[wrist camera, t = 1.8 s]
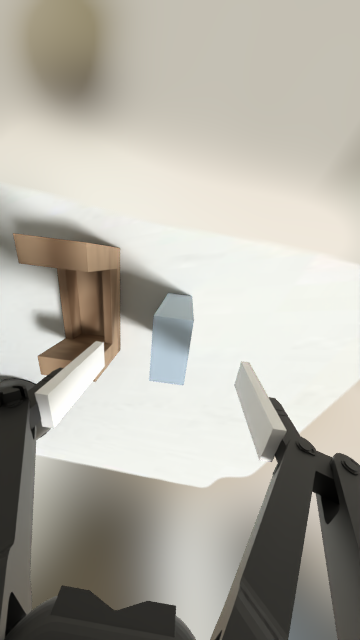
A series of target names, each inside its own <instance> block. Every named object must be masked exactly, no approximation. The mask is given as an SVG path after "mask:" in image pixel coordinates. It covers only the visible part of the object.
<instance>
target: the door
mask: <svg viewBox="0 0 360 640" xmlns="http://www.w3.org/2000/svg"><path fill="white" fill-rule="evenodd" d="M193 322H194V318H193V303H192V296H187V295H179V294H172V293H168V294H167V296H166V297H165V299H164V300H163V302H162V304H161V305H160V307H159V308H158V310H157V311H156V313H155V314H154V319H153V334H152V348H151V363H150V378H149V381H155V382H163V383H170V384H177V385H184V379H185V373H186V367H187V360H188V354H189V347H190V341H191V335H192V328H193Z"/></svg>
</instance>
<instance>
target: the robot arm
mask: <svg viewBox="0 0 360 640" xmlns="http://www.w3.org/2000/svg"><path fill="white" fill-rule="evenodd" d="M104 367H105V360H104V342H98V341H95V342H94V343H93V344H92V345H91V346H90V347H88V348H87V349H86V350H85V351H84V352H82V353H81V354H80V355H79V356H78V357H77V358H75V359H74V360H73V361H72V362H71V363H70V364H68V365H67V366H66V367H65V368H58V369H56V370H54V371H52V372H51V373H50V374H48V375H47V377H45V378H43V379H42V381H40V382H38V383H37V384H36V385H35V384H33V383H30V382H28V381H24V380H20V379H7V380H3V381H1V382H0V640H196V639H195V637H194V636H193V634H192V633H191V631H190V630H189V628H188V627H187V626H186V625H185V624H184V623H183V621H182V620H180V619H179V618H178V617H177V616H176V615H175V614H176V606H174V605H168V604H162V603H157V602H151V601H146V602H142V603H139V604H136V605H133V606H130V607H127V608H124V609H121V610H113V609H112V608H110V607H109V606H108V605H107V604H105V603H104V602H103V601H102V600H101V599H99V598H98V597H97V596H96V595H94V594H93V593H92V592H91V591H89V590H84V589H79V588H72V587H67V586H61V589H60V591H59V594H58V596H56V597H53V598H51V599H49V600H47V601H45V602H43V603H42V604H40V605H39V606H37V607H36V608H34V609H33V610H32V591H31V581H30V564H31V542H32V520H33V498H34V476H35V454H36V440H37V439H38V438H40V437H42V436H43V435H45V434H46V433H47V432H48V431H49V430H50V429H51V428H55V427H56V425H57V424H58V423H59V422H60V421H61V419H62V418H63V417H64V416H65V414H66V413H67V412H68V411H69V410H70V408H71V407H72V406H73V405H74V403H75V402H76V401H77V400H78V399H79V397H80V396H81V395H82V394H83V392H84V391H85V390H86V389H87V388H88V386H89V385H90V384H91V383H92V381H93V380H94V379H95V378H96V377H97V375H98V374H99V373H100V372H101V370H102V369H103V368H104ZM235 388H236V391H237V394H238V397H239V400H240V403H241V406H242V409H243V412H244V415H245V418H246V421H247V424H248V427H249V430H250V433H251V436H252V439H253V442H254V445H255V448H256V451H257V454H258V457H259V460H262V461H268V462H272V461H273V459H274V456H275V457H276V459H277V462H278V464H277V466H276V468H275V470H274V472H273V477H272V479H271V482H270V485H269V487H268V490H267V493H266V495H265V498H264V501H263V504H262V506H261V509H260V511H259V514H258V517H257V520H256V522H255V525H254V528H253V531H252V533H251V536H250V538H249V541H248V544H247V546H246V549H245V552H244V554H243V557H242V560H241V562H240V565H239V568H238V570H237V573H236V576H235V578H234V581H233V584H232V586H231V589H230V592H229V594H228V597H227V600H226V602H225V605H224V608H223V610H222V612H221V615H220V617H219V619H218V622H217V624H216V626H215V629H214V631H213V634H212V637H211V639H210V640H288V637H289V630H290V624H291V618H292V611H293V605H294V600H295V594H296V587H297V581H298V575H299V569H300V563H301V557H302V551H303V544H304V538H305V532H306V526H307V520H308V514H309V508H310V501H311V495H312V492H314V493H316V497H317V504H318V511H319V518H320V524H321V531H322V538H323V545H324V551H325V558H326V565H327V571H328V577H329V585H330V591H331V598H332V604H333V611H334V618H335V625H336V631H337V638H338V640H360V465H359V464H358V463H357V462H355V461H354V460H353V459H351V458H350V457H348V456H346V455H344V454H341V453H336V454H335V455H334V456H333V458H332V457H330V456H327V455H325V454H323V453H320V452H318V451H316V449H315V448H314V446H313V445H312V444H311V443H310V442H309V441H307V440H306V439H304V438H302V437H300V435H299V433H298V432H297V430H296V428H295V427H294V425H293V423H292V422H291V420H290V418H289V417H288V415H287V414H286V412H285V410H284V409H283V407H282V405H281V404H280V403H279V402H278V401H277V400H276V399H275V398H270V397H268V396H267V394H266V392H265V390H264V388H263V387H262V385H261V383H260V381H259V379H258V377H257V376H256V374H255V372H254V370H253V368H252V367H251V365H250V363H248V362H241V364H240V368H239V371H238V374H237V378H236V381H235Z"/></svg>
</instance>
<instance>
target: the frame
mask: <svg viewBox="0 0 360 640" xmlns="http://www.w3.org/2000/svg"><path fill="white" fill-rule="evenodd" d="M13 236H14V241H15V246H16V251H17V256H18V261H19V263H21V264H29V265H36V266H44V267H52V268H57V274H58V281H59V289H60V297H61V305H62V313H63V321H64V328H65V336H66V338H65V339H64V340H62V341H61V342H59V343H58V344H56V345H54V346H53V347H51V348H50V349H48V350H46V351H45V352H43V353H42V354H40V355H39V356H38V361H39V366H40V371H41V374H42V375H48V374H50V373H51V372H52V371H54V370H56V369H58V368H65V367H66V366H67V365H68V364H70V363H71V362H72V361H73V360H74V359H75V358H77V357H78V356H79V355H80V354H81V353H82V352H84V351H85V350H86V349H87V348H88V347H90V346H91V345H92V344H93V343H94V342H95V341H98V342H104V360H105V367H104V368H103V369H102V370H101V372H100V373H99V374H98V375H97V377H96V378H95V379H94V380H93V381H94V382H96V380H97V379H98V378H99V377H100V375H101V374H102V373H103V371H104V370H105V369H106V368H107V366H108V365H109V364H110V362H111V361H112V360H113V358H114V357H115V356H116V355H117V353H118V352H119V351H120V248H116V247H110V246H104V245H98V244H92V243H86V242H78V241H70V240H62V239H54V238H46V237H38V236H30V235H22V234H14V233H13Z"/></svg>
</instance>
